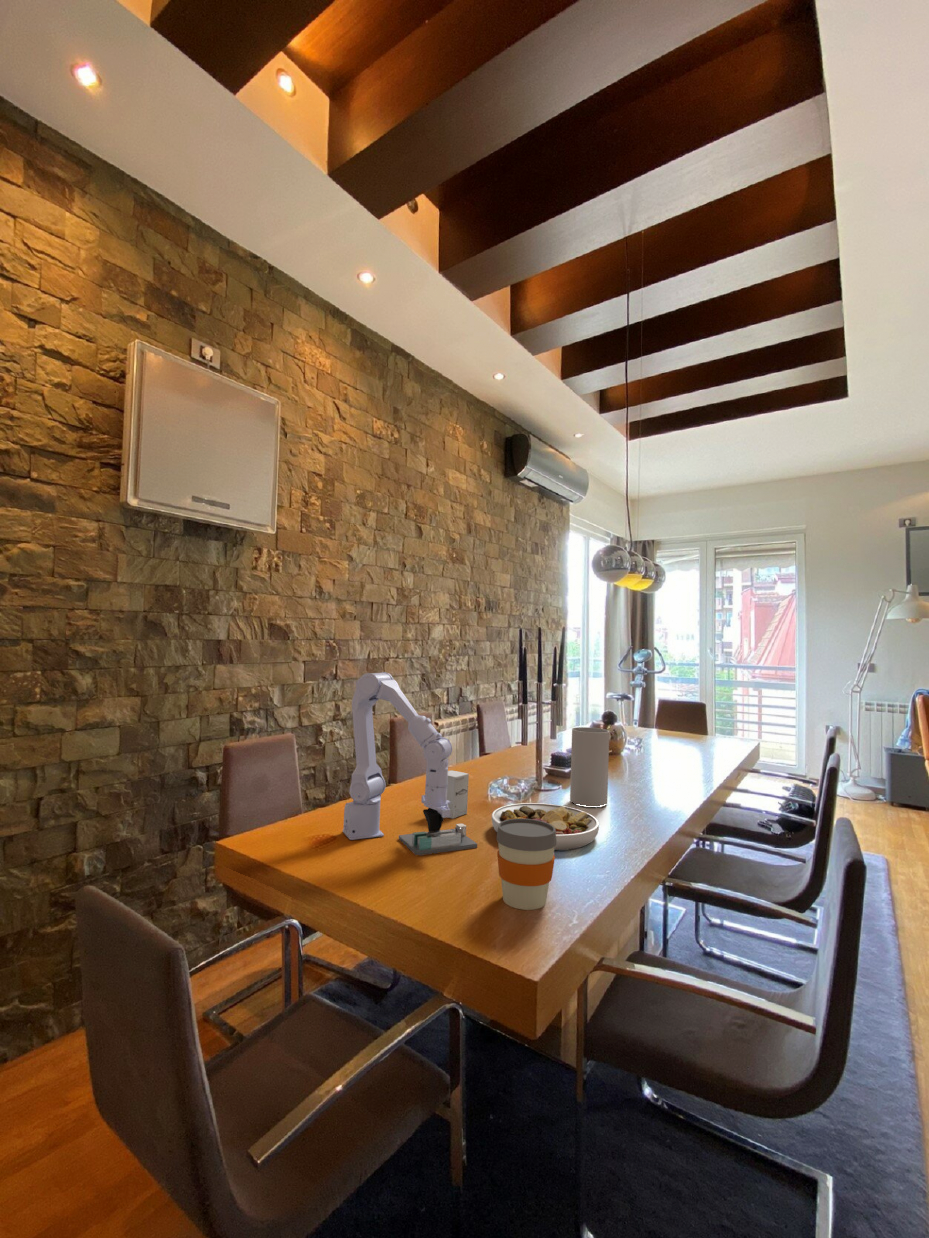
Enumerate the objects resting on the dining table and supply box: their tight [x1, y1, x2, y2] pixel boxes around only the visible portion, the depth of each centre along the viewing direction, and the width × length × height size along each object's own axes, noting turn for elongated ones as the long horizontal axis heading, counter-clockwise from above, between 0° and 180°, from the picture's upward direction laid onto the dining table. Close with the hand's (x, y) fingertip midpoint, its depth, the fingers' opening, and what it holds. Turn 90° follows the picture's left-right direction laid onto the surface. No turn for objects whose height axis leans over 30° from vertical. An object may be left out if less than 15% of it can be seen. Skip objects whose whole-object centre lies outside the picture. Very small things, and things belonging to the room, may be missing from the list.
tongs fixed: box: [417, 826, 463, 850], centre depth 148 cm, size 13×3×4 cm, turn 116°
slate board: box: [398, 828, 478, 856], centre depth 152 cm, size 17×13×1 cm
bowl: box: [491, 802, 600, 851], centre depth 163 cm, size 30×30×8 cm
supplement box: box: [447, 769, 470, 820], centre depth 179 cm, size 7×7×13 cm
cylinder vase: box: [569, 726, 610, 806], centre depth 198 cm, size 12×12×25 cm
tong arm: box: [411, 828, 453, 846], centre depth 149 cm, size 10×2×3 cm, turn 114°
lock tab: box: [455, 823, 467, 836], centre depth 157 cm, size 2×2×2 cm
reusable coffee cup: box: [496, 819, 557, 911], centre depth 121 cm, size 13×13×15 cm
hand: (433, 837), depth 151 cm, fingers closed
